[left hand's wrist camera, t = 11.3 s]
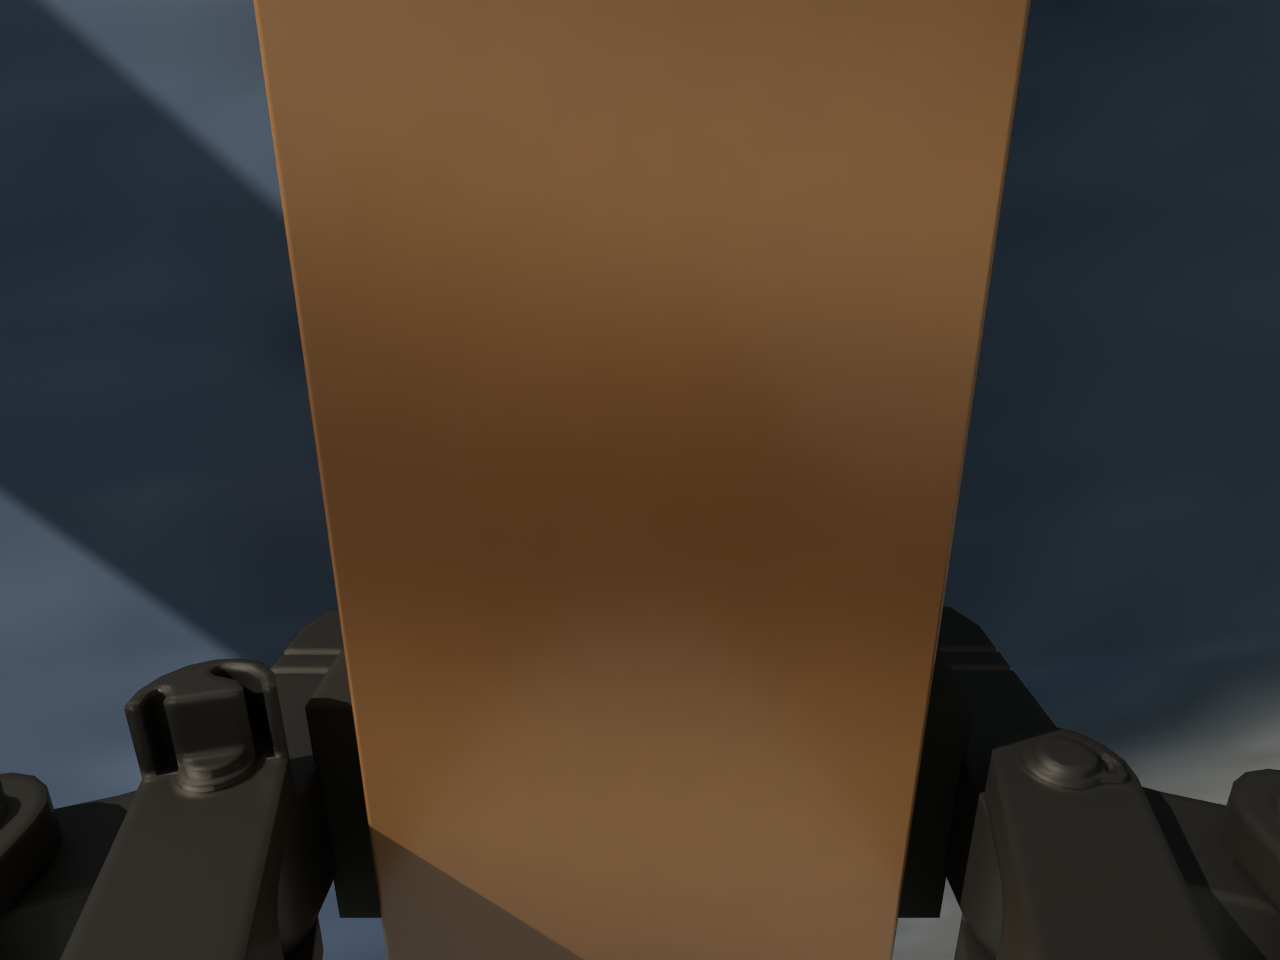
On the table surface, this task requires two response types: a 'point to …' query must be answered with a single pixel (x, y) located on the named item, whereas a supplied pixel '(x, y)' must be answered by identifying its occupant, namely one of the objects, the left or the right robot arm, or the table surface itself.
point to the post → (641, 445)
